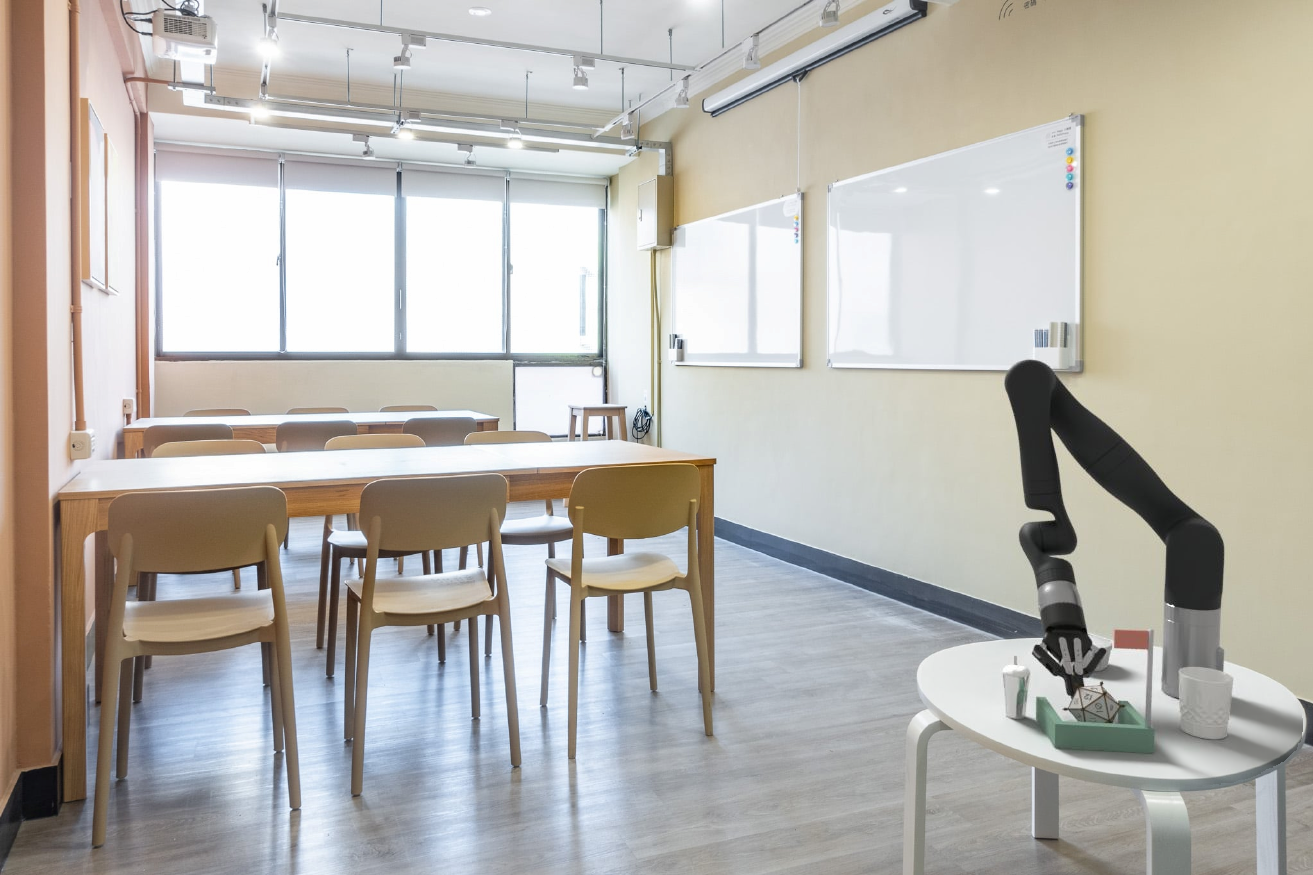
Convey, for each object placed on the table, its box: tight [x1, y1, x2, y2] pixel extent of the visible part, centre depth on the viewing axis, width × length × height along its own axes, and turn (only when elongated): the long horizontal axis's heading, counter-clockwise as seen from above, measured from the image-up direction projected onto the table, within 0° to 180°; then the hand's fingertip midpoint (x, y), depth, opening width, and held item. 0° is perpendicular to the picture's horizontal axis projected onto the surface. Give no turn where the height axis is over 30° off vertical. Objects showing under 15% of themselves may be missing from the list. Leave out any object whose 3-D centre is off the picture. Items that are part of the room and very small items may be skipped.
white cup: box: [1178, 667, 1234, 740], centre depth 152 cm, size 8×8×10 cm
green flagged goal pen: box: [1035, 628, 1156, 755], centre depth 150 cm, size 15×12×20 cm
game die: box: [1061, 680, 1126, 724], centre depth 153 cm, size 9×8×10 cm
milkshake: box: [1002, 655, 1031, 720], centre depth 160 cm, size 4×5×10 cm
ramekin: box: [1056, 634, 1113, 672], centre depth 187 cm, size 11×11×5 cm
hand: (1077, 697), depth 158 cm, fingers closed
